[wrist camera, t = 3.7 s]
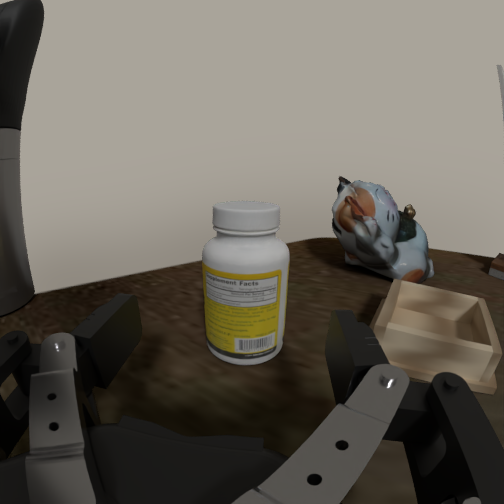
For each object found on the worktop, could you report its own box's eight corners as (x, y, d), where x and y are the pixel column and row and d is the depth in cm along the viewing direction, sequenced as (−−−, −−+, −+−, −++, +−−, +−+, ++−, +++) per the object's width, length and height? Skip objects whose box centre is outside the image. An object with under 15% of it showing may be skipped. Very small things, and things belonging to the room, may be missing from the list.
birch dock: (352, 361, 18) (362, 324, 17) (381, 303, 26) (387, 275, 25) (493, 394, 12) (512, 359, 11) (480, 327, 20) (490, 298, 19)
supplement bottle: (235, 318, 23) (236, 197, 20) (294, 338, 21) (307, 205, 18) (190, 348, 19) (182, 205, 16) (256, 379, 16) (264, 215, 13)
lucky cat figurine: (442, 292, 28) (425, 182, 22) (349, 314, 33) (311, 215, 28) (419, 231, 40) (398, 148, 34) (351, 250, 45) (322, 172, 40)
